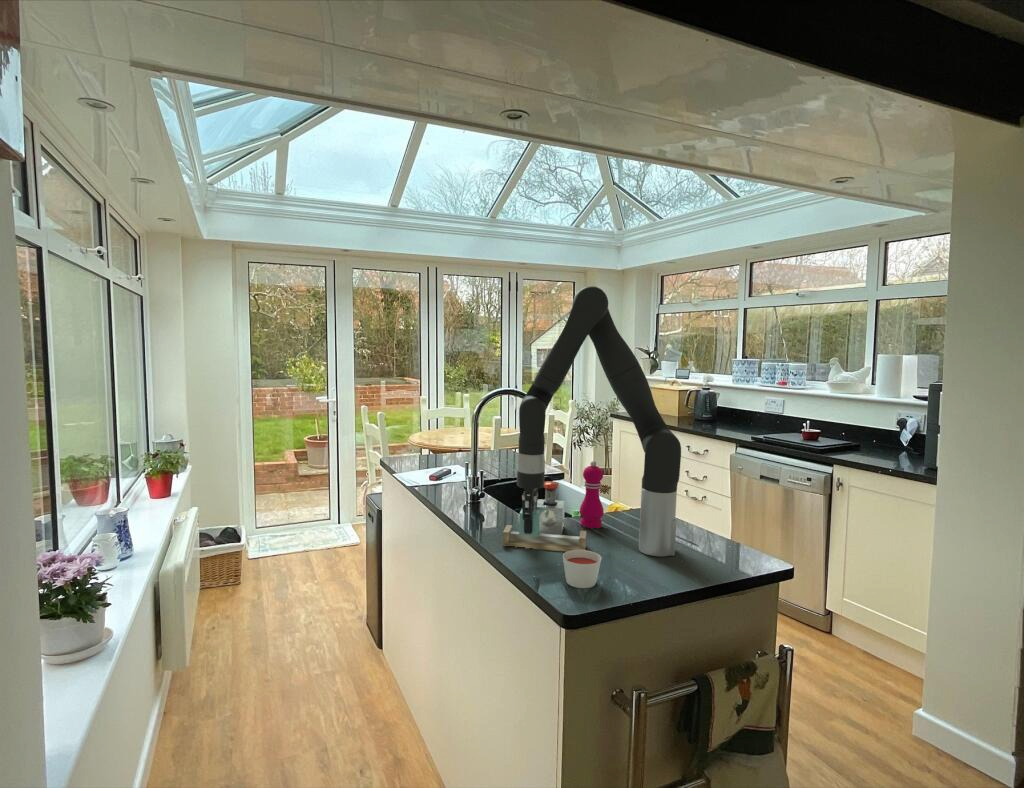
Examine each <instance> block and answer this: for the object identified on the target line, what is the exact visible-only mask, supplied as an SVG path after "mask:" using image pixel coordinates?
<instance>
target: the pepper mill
mask: <svg viewBox="0 0 1024 788" xmlns="http://www.w3.org/2000/svg"><path fill="white" fill-rule="evenodd" d="M582 477H583V479H584V480H585V481H584V485H583V486H584V487H585V494H584V495H585V496H584V498H583V500H582V503H581V505H580V506H579V515H580V516H581V517H582V518H581V519H580V526H581V525H582V526H584V527H588V528H598V529H600V528H601V527H602V519H601V518H602V517H604V507H603V504H602V502H601V498H600V488H602V482H601V481H602V480H603V477H604V472H603V470H602V468H601V467H599V466H597V462H596V461H595V460H592V461H591V462H590V465H589V466H587V467H585V468H584V469H583V472H582ZM582 526H581V527H582ZM584 527H583V528H584ZM588 528H587V529H588Z"/></svg>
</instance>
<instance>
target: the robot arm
mask: <svg viewBox="0 0 1024 788" xmlns="http://www.w3.org/2000/svg"><path fill="white" fill-rule="evenodd" d="M571 304H572V306H571V309H570V313H569V315H568V317H567V320H566V322H565V325H564V327H563V329H562V331H561V333H560V335H559V336H558V338H557V339H556V341H555V343H554V344H553V346H552V347H551V348H550V350H549V352H548V354H547V355H546V357H545V359H544V360H543V362H542V364H541V366H540V367H539V369H538V371H537V372H536V376H535V378H534V380H533V382H532V384H531V385H530V387H529V389H528V390H527V392H526V393H525V395H524V397H523V398H522V400H521V402H520V404H519V409H518V420H519V421H518V423H519V424H518V425H519V435H518V436H519V437H518V453H517V454H518V455H517V462H516V485H517V486H518V487H519V488H521V489H524V491H523V493H522V494H521V499H522V500H521V505H522V506H521V509H522V513H523V516H522V518H523V520H524V533H526V534H531V533H532V524H533V512H534V511H535V510H536V509H537V501H538V499H539V492H538V491H539V489H542V488H544V487H543V486H544V482H545V478H546V476H545V475H546V473H545V470H546V469H545V468H546V458H545V450H546V447H545V445H546V444H545V443H546V442H545V427H546V426H545V425H546V414H547V413H546V412H547V409H548V407H549V405H550V403H551V401H552V399H553V397H554V396H555V394H556V393H557V392H558V390H559V389H560V387H561V385H562V384H563V382H564V380H565V378H566V377H567V375H568V373H569V371H570V369H571V367H572V365H573V364H574V361H575V359H576V357H577V354H578V353H579V352H580V349H581V347H582V346H583V343H584V342H585V340H586V339H587V337H589V338H590V340H591V343H592V345H593V347H594V349H595V352H596V354H597V357H598V360H599V362H600V365H601V367H602V370H603V372H604V374H605V377H606V378H607V381H608V383H609V385H610V386H611V388H612V390H613V393H614V394H615V396H616V398H617V399H618V401H619V402H620V404H621V405H622V406H623V407H622V408H624V410H625V411H626V412H627V414H628V416H629V417H630V419H631V422H632V423H633V425H634V428H635V430H636V432H637V435H638V438H639V440H640V443H641V446H642V449H643V452H644V463H643V475H642V477H641V478H642V479H641V491H640V493H641V495H640V513H639V517H640V518H639V533H638V534H639V535H638V550H639V551H640V552H641V553H642V554H645V555H648V556H652V557H662V558H663V557H669V556H675V555H676V554H675V553H676V552H675V551H676V537H677V536H676V535H677V533H676V532H677V520H676V514H677V513H676V510H677V495H678V484H679V481H680V473H681V462H682V461H681V460H682V446H681V442H680V440H679V438H678V437H677V436H676V435H675V434H674V433H673V432H672V430H671V429H670V428H669V427H668V425H667V424H666V421H665V420H664V419H663V417H662V415H661V414H660V412H659V410H658V408H657V406H656V403H655V399H654V397H653V393H652V390H651V386H650V384H649V382H648V379H647V377H646V375H645V373H644V371H643V368H642V367H641V364H640V362H639V360H638V359H637V357H636V355H635V354H634V352H633V351H632V349H631V348H630V346H629V345H628V344H627V342H626V341H625V339H624V338H623V337H622V335H621V334H620V332H619V331H618V329H617V326H616V325H615V322H614V319H613V317H612V314H611V313H610V310H609V299H608V296H607V294H606V292H605V291H604V290H603V289H601V288H600V287H597V286H594V285H592V286H591V285H590V286H585V287H583V288H581V289H579V290H578V291H577V292H576V294H575V295H574V297H573V300H572V303H571ZM526 513H529V514H530V515H526Z"/></svg>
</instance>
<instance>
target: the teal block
mask: <svg viewBox="0 0 1024 788" xmlns="http://www.w3.org/2000/svg"><path fill="white" fill-rule="evenodd" d="M526 515H530V514H529V513H526ZM539 515H540V510H535V511H534V512H533V524H532V533H531V534H526V533H524V520H523V518H522V516H523V513H522V508H521V510H520V511H519V518H518V519H519V520H518V522H519V523H518V525H519V526H518V532H519V535H531V536H537V535H538V533H539Z"/></svg>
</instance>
